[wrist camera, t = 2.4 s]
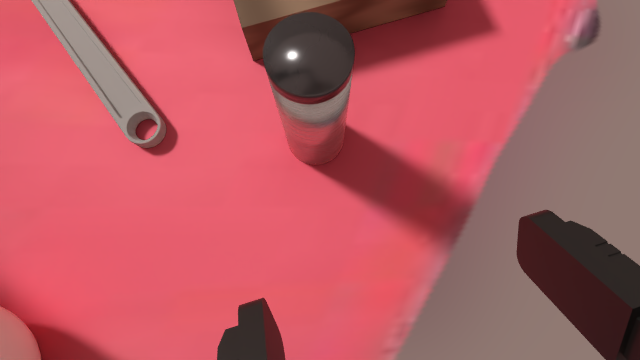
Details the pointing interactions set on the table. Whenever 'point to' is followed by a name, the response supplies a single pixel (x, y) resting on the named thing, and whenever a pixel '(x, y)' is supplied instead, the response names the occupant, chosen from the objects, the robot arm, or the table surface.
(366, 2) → the block
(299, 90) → the steel pin
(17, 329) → the lidded jar
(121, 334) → the table surface
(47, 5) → the adjustable wrench
